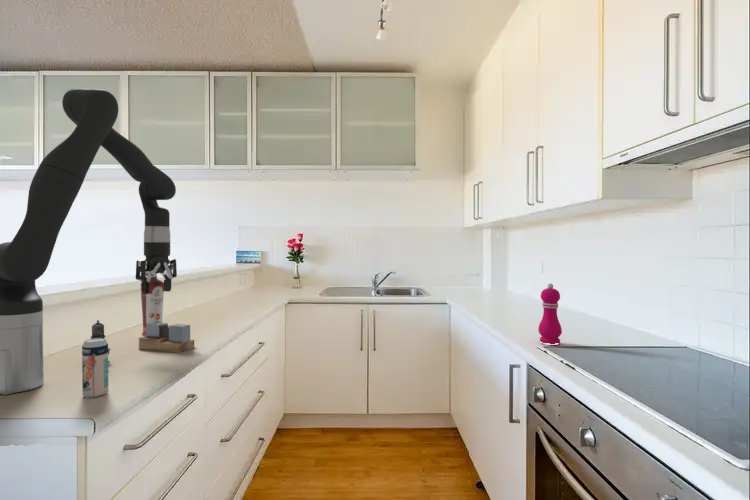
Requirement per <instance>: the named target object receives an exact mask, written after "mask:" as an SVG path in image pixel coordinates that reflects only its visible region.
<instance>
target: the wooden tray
mask: <svg viewBox="0 0 750 500" xmlns="http://www.w3.org/2000/svg"><path fill="white" fill-rule="evenodd" d="M193 348H195V339H193V338H190V341H188V342H184V343H175V342H169V337H165V338H161V339H154V338H147V336H143V335H142V336H141V337H138V350H148V351H156V352H157V351H159V352H166V353H167V352H169V353H176V354H177V353H181V352H184V351H187V350H192V349H193Z"/></svg>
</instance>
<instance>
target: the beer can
mask: <svg viewBox="0 0 750 500" xmlns="http://www.w3.org/2000/svg"><path fill="white" fill-rule="evenodd" d="M108 348H109V343H108V341H107V339H106V338H105V337H104V338H96V339H91V338H90V339H86V340H84V341H83V343H82V346H81V363H82V364H81V368H82V369H81V374H82V376H81V379H82V382H81V383H82V396H83V397H86V398H87V397H88V398H89V399H91V398H92V399H95V398H99V396H100V397H102V396H104V395H106V394H107V393H108V392H109V363H108V361H109V355H108ZM93 397H94V398H93Z"/></svg>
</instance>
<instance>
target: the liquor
mask: <svg viewBox="0 0 750 500" xmlns="http://www.w3.org/2000/svg"><path fill="white" fill-rule="evenodd" d="M149 282H150V294H143V292H142V282H141V283H140V297H141V298H140V299H141V300H140V301H141V312H142V313H141V314H142V315H141V316H142V332H141V336H142V337H143V336H147V335H146V324H149V323H154V322H160V323H163V316H164V315H163V313H164V312H163V311H164V310H163V309H164V292H165V291H164V281H162V280H160V279H158V273H157V274H154V276H152V277H151V279H150V281H149Z"/></svg>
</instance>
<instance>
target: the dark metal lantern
mask: <svg viewBox="0 0 750 500" xmlns="http://www.w3.org/2000/svg"><path fill="white" fill-rule="evenodd" d="M96 338H104V339H105V338H106V335H105V325H104V323H101V322H100V319H97V321H96V322H95V323H94V324H92V326H91V336H90V339H96ZM110 351H111V348H110V347H108V356H109V354H110ZM109 363H110V360H108V364H109Z"/></svg>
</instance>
